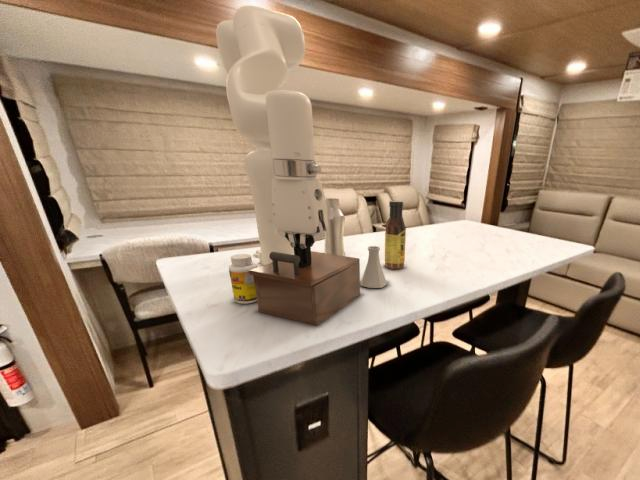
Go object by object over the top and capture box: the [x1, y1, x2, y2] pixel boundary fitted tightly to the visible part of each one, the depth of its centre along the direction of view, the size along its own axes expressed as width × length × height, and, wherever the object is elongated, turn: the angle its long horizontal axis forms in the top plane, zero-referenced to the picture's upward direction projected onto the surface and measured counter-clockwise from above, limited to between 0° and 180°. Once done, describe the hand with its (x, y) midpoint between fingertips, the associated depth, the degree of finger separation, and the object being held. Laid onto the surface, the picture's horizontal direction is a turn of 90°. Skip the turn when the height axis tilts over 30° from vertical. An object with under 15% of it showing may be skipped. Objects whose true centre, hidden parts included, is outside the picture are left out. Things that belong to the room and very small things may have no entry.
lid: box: [249, 250, 361, 286], centre depth 65 cm, size 18×15×5 cm
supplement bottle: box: [228, 253, 258, 305], centre depth 68 cm, size 6×6×10 cm
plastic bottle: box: [323, 197, 346, 256], centre depth 91 cm, size 6×7×20 cm
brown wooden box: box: [253, 262, 361, 326], centre depth 68 cm, size 18×15×8 cm
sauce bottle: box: [384, 200, 407, 270], centre depth 93 cm, size 6×6×20 cm
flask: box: [360, 245, 388, 289], centre depth 80 cm, size 7×7×10 cm
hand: (303, 265), depth 64 cm, fingers closed
